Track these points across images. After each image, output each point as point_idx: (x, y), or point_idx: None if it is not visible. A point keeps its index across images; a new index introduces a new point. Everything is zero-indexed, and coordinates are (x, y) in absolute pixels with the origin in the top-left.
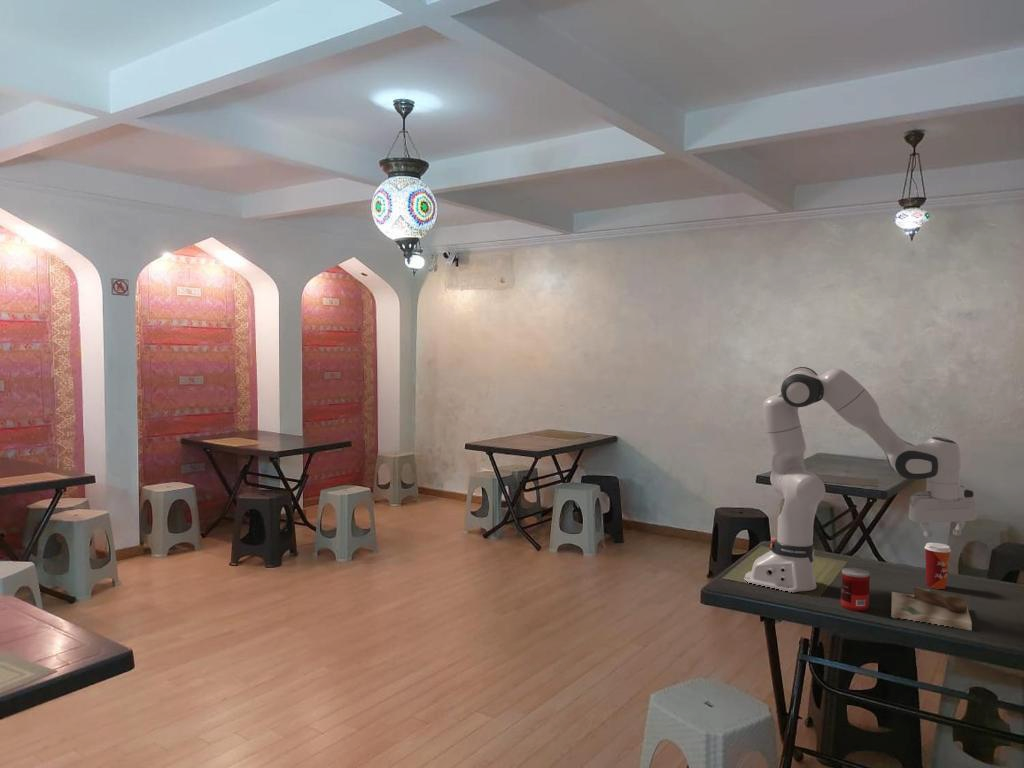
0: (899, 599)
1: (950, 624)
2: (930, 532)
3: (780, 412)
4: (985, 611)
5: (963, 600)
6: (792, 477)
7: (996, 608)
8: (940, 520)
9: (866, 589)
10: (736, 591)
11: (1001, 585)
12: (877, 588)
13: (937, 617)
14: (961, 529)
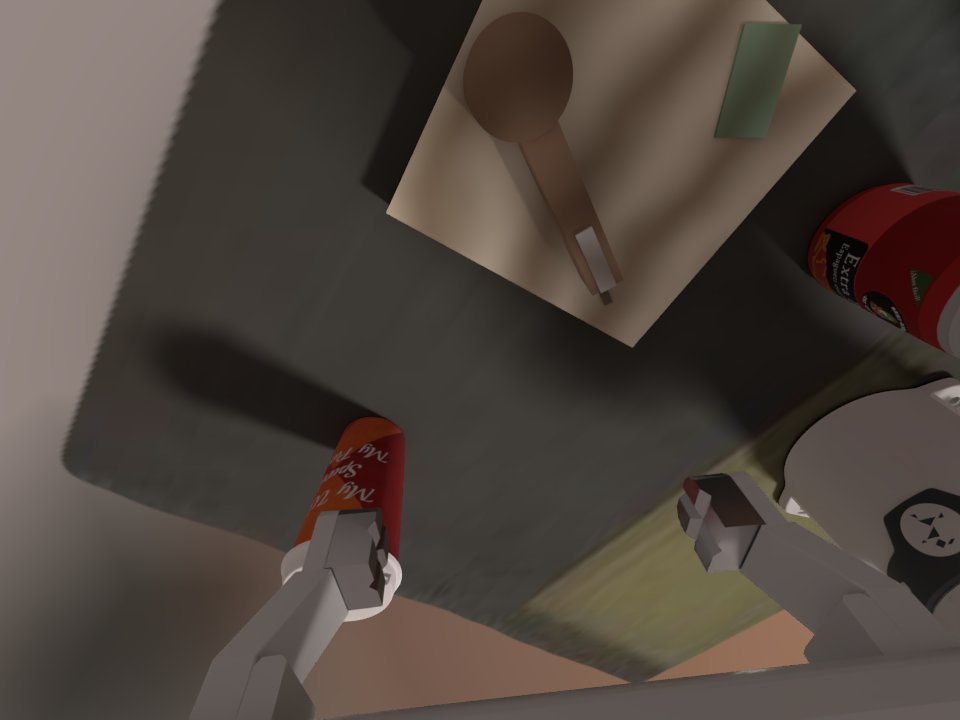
0: (675, 257)
1: None
2: (737, 513)
3: None
4: (309, 175)
5: (518, 13)
6: None
7: (236, 216)
8: (739, 709)
9: (958, 210)
10: None
11: (114, 458)
12: (599, 423)
13: None
14: (295, 577)
